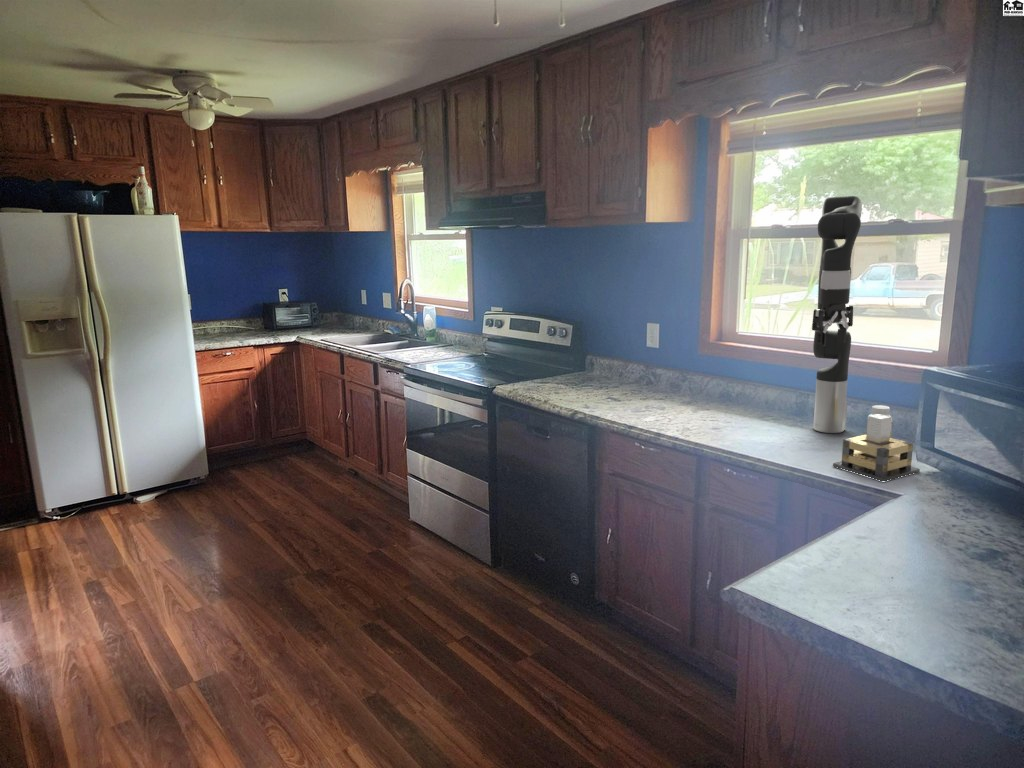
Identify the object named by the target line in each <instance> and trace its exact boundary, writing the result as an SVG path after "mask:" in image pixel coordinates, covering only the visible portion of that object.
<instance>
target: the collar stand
mask: <svg viewBox="0 0 1024 768" xmlns="http://www.w3.org/2000/svg"><path fill="white" fill-rule="evenodd" d="M866 435H867V434H866V433H865V434H862V435H857V436H853V437H849V438H848V437H847V438H844V439H842V451H841V461H836V462H834V463H832V467H833V466H834V467H833V468H836V467H838V468H837V469H839V468H842V469H845V470H848V471H852V472H855V473H858V474H862V475H865V476H868V477H871V478H874V479H877V480H880V481H887V480H890V479H894V480H896V479H895V478H898V477H901V476H905V475H908V476H910V475H909V474H912V475H914V474H913V473H916V474H919V473H920V472H921V469H920V468H918V467H915V466H912V460H913V450H914V448H913V447H914V443H912V442H909V441H906V440H901V439H897V438H892V437H891V438H890V441H889V444H887V445H883V446H879V445H875V444H872V443H868V442H866ZM865 453H868V454H871V455H875V456H876V459H873V458H870V457H866V456H865ZM842 469H841V470H842ZM845 470H844V471H845ZM848 471H847V472H848ZM852 472H851V473H852ZM918 472H919V473H918ZM855 473H854V474H855ZM858 474H857V475H858ZM905 477H906V476H905ZM871 478H870V479H871ZM901 478H902V477H901ZM874 479H873V480H874ZM898 479H899V478H898ZM877 480H876V481H877ZM880 481H879V482H880ZM887 482H888V481H887Z"/></svg>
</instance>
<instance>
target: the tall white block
mask: <svg viewBox="0 0 1024 768" xmlns="http://www.w3.org/2000/svg"><path fill="white" fill-rule="evenodd" d="M869 415H870V414H869ZM869 415H867V418H868V422H867V421H866V429H867V435H866V434H865V435H866V442H868V443H872V444H875V445H879V446H883V445H887V444H889V441H890V429H891V418H892V419H893V417H892V416H891V417H889V416H885V415H880V414H875V415H870V416H869ZM865 456H866V457H870V458H873V459H876V456H875V455H871V454H868V453H865Z"/></svg>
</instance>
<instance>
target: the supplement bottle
mask: <svg viewBox="0 0 1024 768" xmlns="http://www.w3.org/2000/svg"><path fill="white" fill-rule="evenodd" d="M890 410H891V408H890V407H889V406H888V405H883V404H882V405H881V404H879V405H872V406H871V412H872V413H870V414H869V415H868V416H870V415H875V414H880V415H885V416H889V417H892V416H891V415H890ZM867 422H868V417H867V419H866V423H867ZM893 422H894V421H893V417H892V418H891V429H890V438H892V430H893ZM865 431H866V432H865V435H866V434H867V428H866V430H865Z"/></svg>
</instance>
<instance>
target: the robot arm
mask: <svg viewBox="0 0 1024 768" xmlns="http://www.w3.org/2000/svg"><path fill="white" fill-rule="evenodd" d="M862 207H863V205H862V200H861V198H860V197H859V196H855V195H848V196H847V195H846V196H844V195H843V196H829V197H826V198H825V199H824V200H823V203H822V207H821V208H822V210H821V216H820V218H819V220H818V223H817V227H816V228H817V229H816V230H817V234H818V236H819V237H820V238H821V250H820V251H821V253H820V263H819V271H818V272H819V274H818V283H817V284H818V290H817V295H818V296H817V309H816V308H815V309H814V310H813V313H812V314H813V315H812V325H811V331H813V332H814V336H813V344H812V346H813V347H812V349H813V355H814V357H815V358H817V359H827V360H829V359H830V360H837V362H836V363H834V364H833V365H831V366H827V367H821V368H820V369H818V370H817V372H816V376H815V377H816V378H815V393H814V395H815V397H814V412H813V413H814V414H813V415H814V416H813V426H812V427H813V428H812V429H813V430H815V431H817V432H819V433H820V432H821V433H824V434H825V433H827V434H839V433H843V432H844V430H846V429H847V415H848V401H847V392H848V390H847V389H848V378H849V377H848V374H849V361H850V355H851V348H852V347H851V346H852V336H851V333H850V331H848V329H849V328H850V327H853V326H854V324H853V323H854V305H848V304H849V302H850V296H851V295H850V293H851V292H850V291H851V282H852V267H851V263H852V262H851V261H852V254H853V250H854V249H853V248H854V245H855V242H856V240H857V237H858V235H859V233H860V230H861V229H860V228H861V225H862V220H861V217H862V210H863V209H862ZM836 240H837V241H838V240H844V242H843V243H842V245H840V246H839V245H838V243H837V241H836ZM833 324H836V326H837V328H838V329H837V330H828V329H829V328H830V327H831V326H832V325H833Z"/></svg>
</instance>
